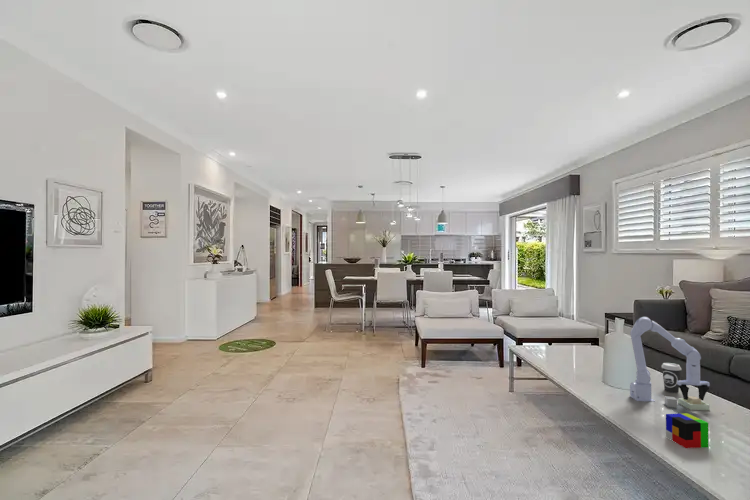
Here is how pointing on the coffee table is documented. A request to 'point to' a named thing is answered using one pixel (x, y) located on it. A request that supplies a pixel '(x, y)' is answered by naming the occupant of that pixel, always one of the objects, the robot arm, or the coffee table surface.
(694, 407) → the green bin
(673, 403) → the matte grey cube
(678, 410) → the slate mat
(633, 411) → the coffee table surface
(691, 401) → the tan wooden cube
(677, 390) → the coffee cup
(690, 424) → the puzzle toy
